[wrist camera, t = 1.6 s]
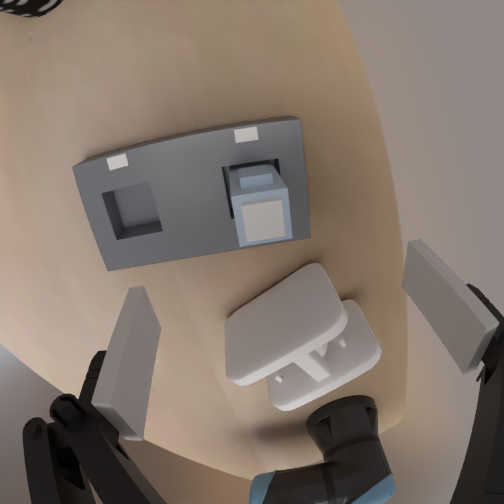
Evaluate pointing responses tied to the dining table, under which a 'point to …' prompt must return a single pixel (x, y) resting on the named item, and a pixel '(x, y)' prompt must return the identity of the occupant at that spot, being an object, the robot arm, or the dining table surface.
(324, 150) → the dining table surface
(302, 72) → the dining table surface
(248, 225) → the plug
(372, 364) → the cable organizer
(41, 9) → the spotted tube
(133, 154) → the socket panel
